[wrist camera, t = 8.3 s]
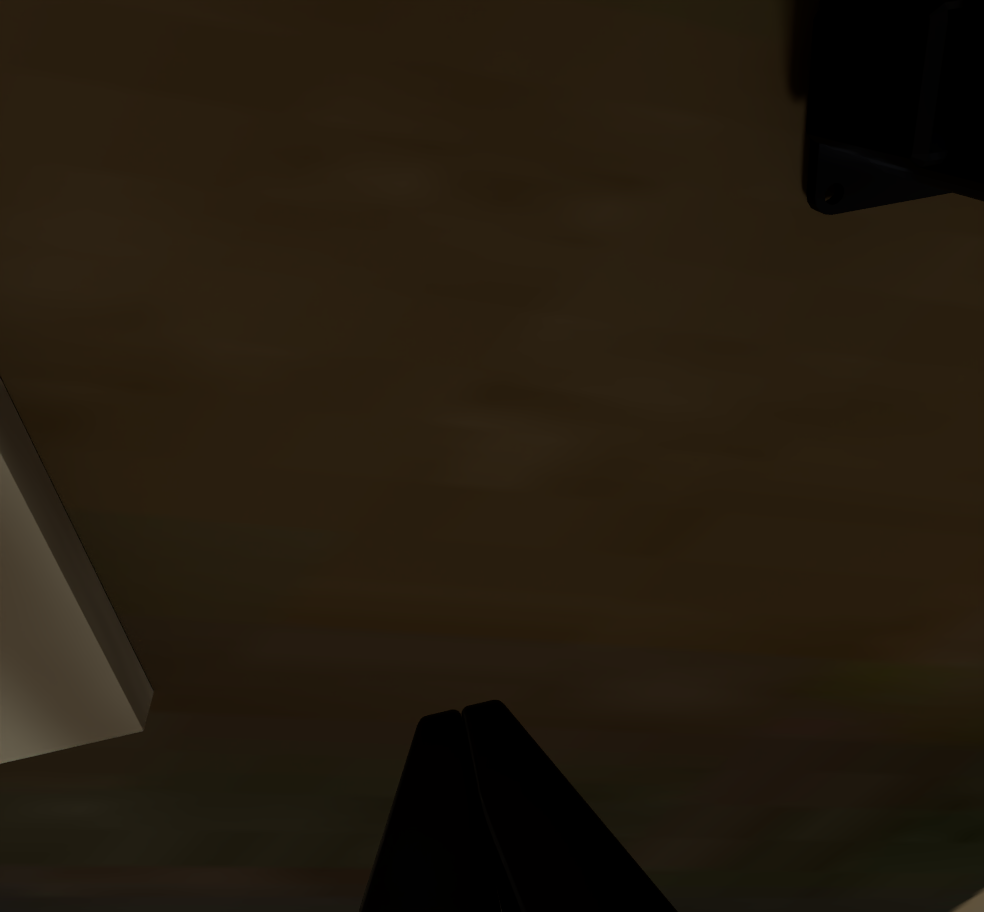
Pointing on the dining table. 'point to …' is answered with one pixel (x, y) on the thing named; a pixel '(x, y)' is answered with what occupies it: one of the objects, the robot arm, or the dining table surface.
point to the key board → (55, 620)
